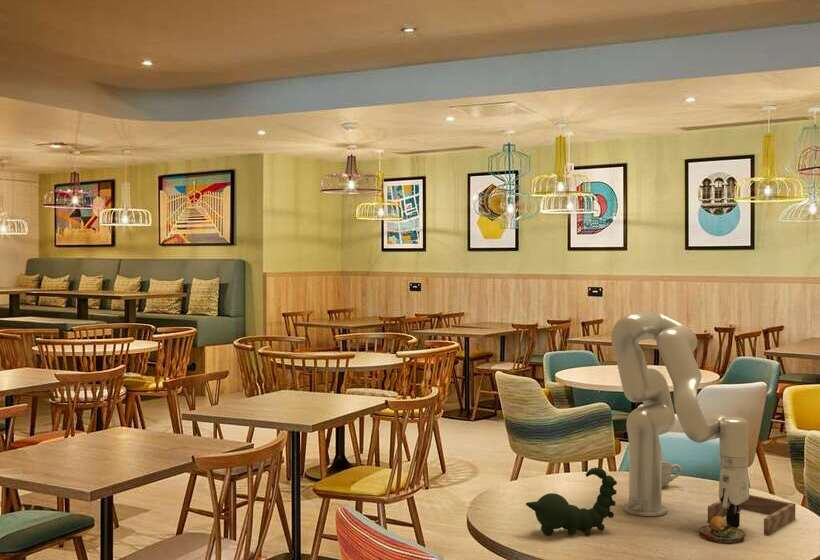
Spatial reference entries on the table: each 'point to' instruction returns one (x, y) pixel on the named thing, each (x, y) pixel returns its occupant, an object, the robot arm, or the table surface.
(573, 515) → the toy figurine
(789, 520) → the wooden u-shaped wall
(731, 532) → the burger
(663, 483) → the teacup
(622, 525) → the table surface
